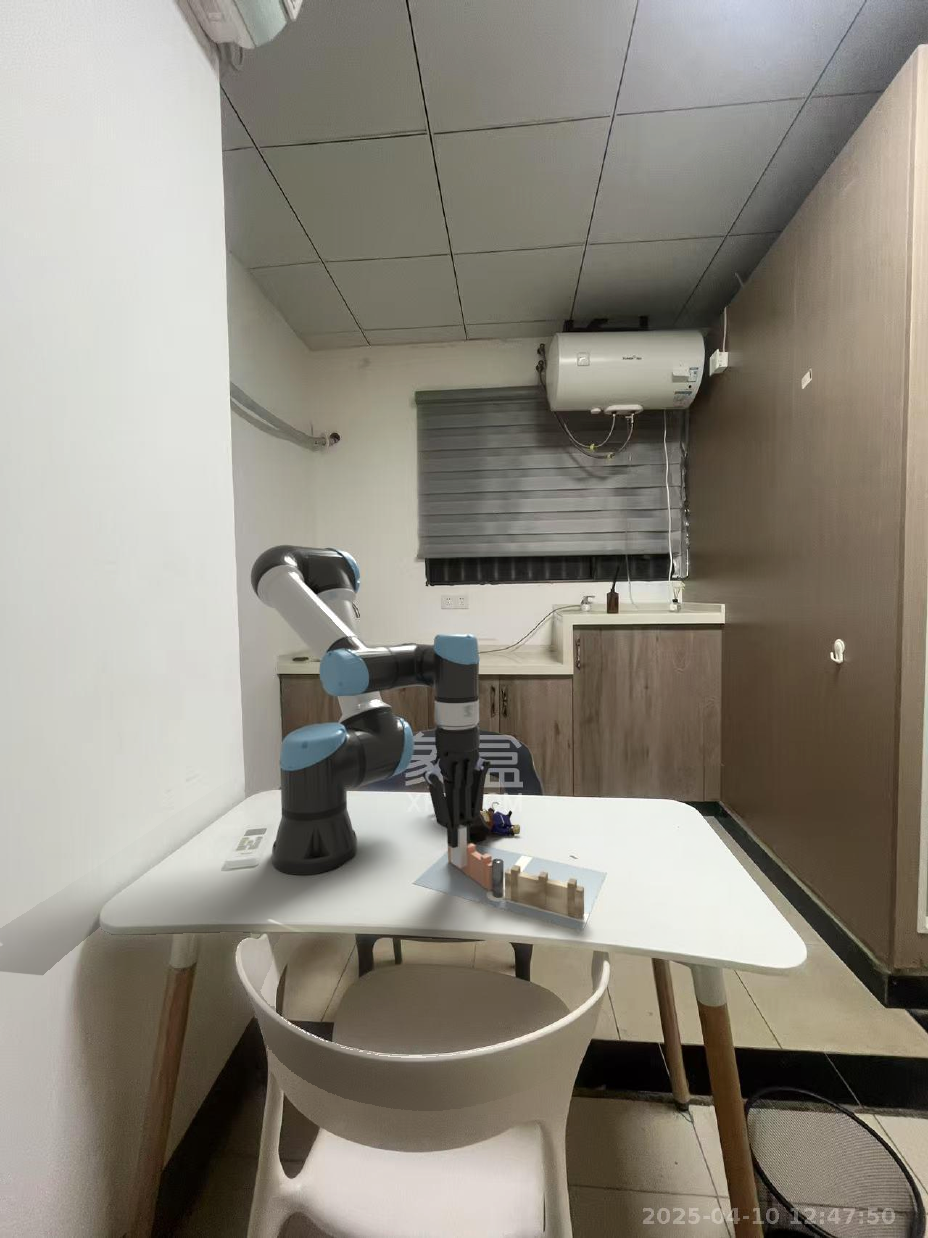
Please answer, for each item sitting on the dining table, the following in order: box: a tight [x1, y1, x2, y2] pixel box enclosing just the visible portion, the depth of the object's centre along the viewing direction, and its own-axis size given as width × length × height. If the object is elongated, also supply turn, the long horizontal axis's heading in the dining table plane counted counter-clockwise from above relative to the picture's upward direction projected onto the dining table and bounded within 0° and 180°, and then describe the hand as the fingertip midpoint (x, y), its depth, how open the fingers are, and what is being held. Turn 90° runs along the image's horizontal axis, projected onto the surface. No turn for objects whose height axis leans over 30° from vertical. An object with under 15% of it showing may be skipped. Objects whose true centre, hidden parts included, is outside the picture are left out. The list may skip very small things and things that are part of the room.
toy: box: [469, 801, 521, 844], centre depth 100 cm, size 9×6×15 cm
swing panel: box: [447, 842, 492, 891], centre depth 85 cm, size 12×2×5 cm, turn 35°
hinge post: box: [492, 859, 504, 898], centre depth 79 cm, size 2×2×6 cm
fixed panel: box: [505, 865, 584, 919], centre depth 76 cm, size 12×2×5 cm, turn 63°
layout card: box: [412, 841, 607, 932], centre depth 84 cm, size 28×17×1 cm, turn 63°
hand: (458, 863), depth 85 cm, fingers closed
